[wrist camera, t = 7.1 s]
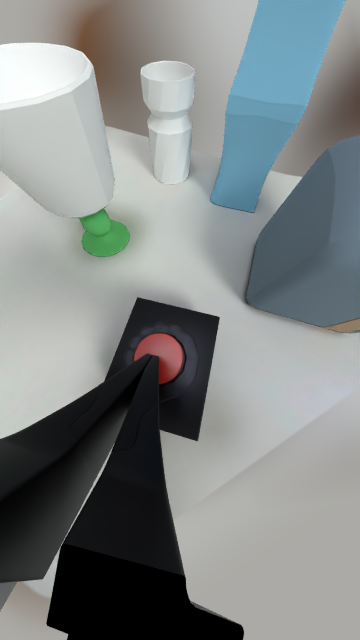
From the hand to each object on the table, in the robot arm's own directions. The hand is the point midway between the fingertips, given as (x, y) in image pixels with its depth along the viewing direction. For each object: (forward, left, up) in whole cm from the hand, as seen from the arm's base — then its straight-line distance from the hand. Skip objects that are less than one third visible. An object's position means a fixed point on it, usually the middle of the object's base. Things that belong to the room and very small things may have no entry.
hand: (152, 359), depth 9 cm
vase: (+24, -36, -11) cm, 45 cm away
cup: (+23, -12, -11) cm, 28 cm away
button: (0, 0, -4) cm, 4 cm away
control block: (0, 0, -11) cm, 11 cm away
